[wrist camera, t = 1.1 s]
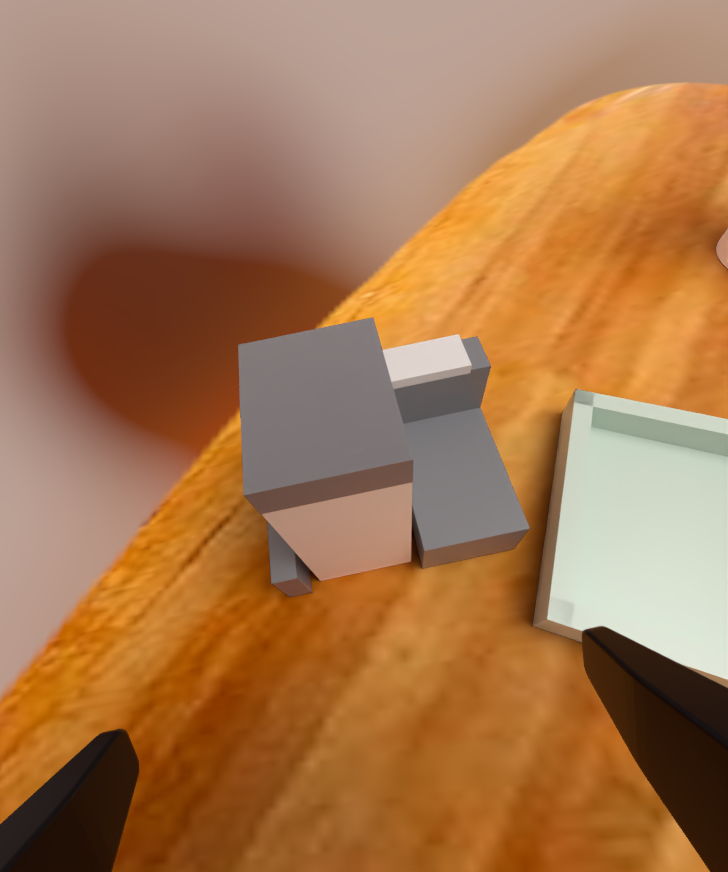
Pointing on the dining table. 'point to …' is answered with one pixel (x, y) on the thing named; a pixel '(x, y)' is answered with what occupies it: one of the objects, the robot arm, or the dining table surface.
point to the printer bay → (439, 462)
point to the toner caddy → (327, 448)
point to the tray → (639, 530)
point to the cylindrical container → (723, 249)
